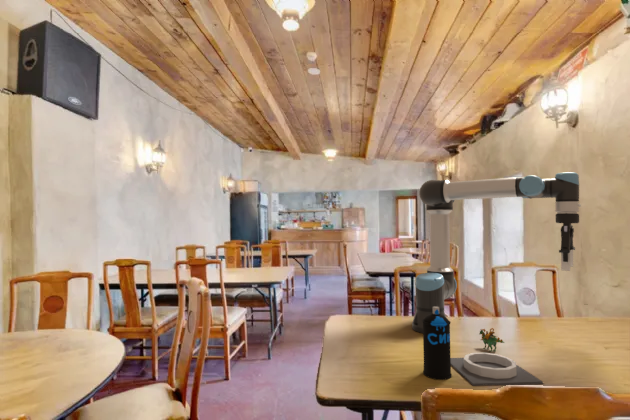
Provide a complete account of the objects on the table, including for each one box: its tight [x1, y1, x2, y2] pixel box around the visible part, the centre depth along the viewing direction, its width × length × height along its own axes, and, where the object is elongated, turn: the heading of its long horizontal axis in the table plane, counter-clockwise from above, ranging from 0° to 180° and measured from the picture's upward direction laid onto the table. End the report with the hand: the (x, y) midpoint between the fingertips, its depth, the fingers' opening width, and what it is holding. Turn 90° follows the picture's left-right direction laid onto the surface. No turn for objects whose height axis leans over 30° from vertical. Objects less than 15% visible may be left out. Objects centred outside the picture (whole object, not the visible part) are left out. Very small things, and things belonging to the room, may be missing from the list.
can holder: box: [450, 352, 544, 387], centre depth 115 cm, size 20×20×3 cm
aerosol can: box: [422, 307, 453, 381], centre depth 113 cm, size 8×8×20 cm
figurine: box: [478, 327, 505, 352], centre depth 133 cm, size 3×12×8 cm, turn 17°
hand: (567, 268), depth 143 cm, fingers open, 13 cm apart
